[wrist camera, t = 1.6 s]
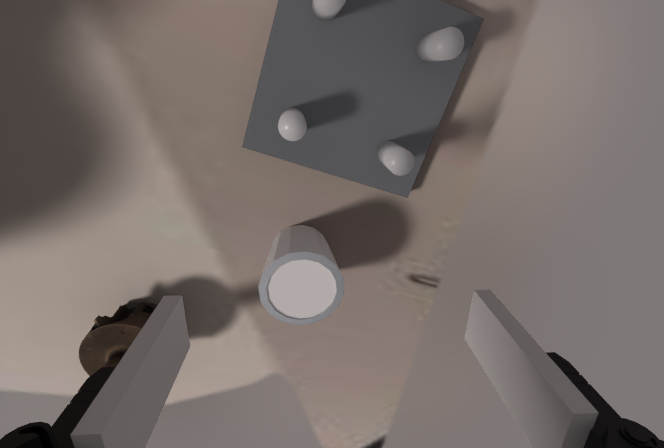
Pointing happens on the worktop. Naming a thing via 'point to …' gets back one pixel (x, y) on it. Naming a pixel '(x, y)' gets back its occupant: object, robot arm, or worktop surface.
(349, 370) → the worktop surface
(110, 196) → the worktop surface
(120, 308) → the industrial component
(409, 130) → the pin plate
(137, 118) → the worktop surface
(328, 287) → the shot glass
